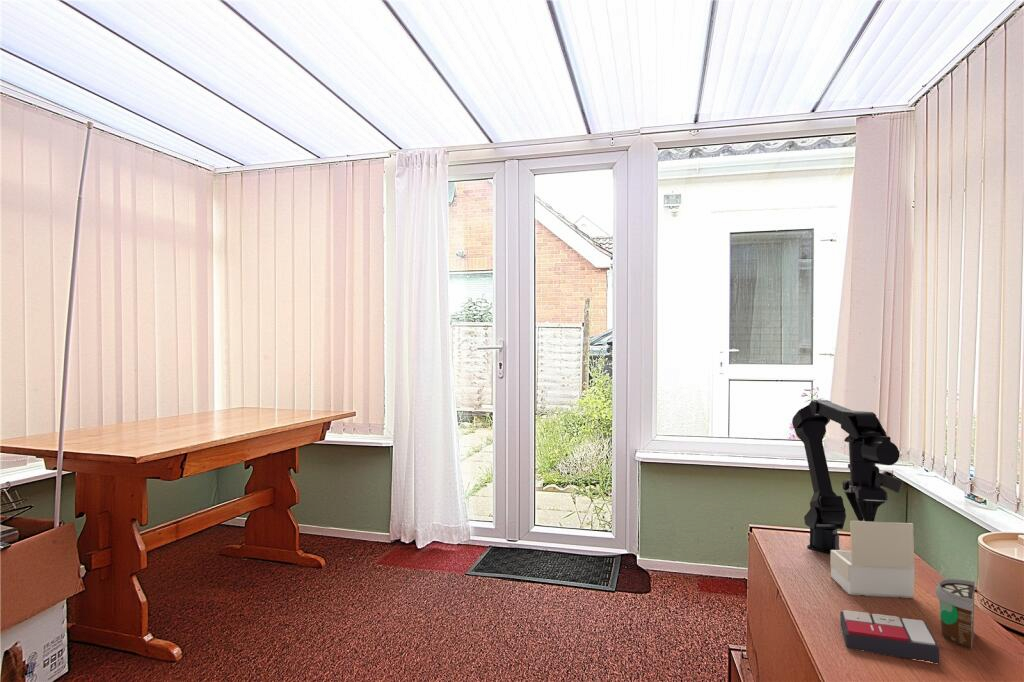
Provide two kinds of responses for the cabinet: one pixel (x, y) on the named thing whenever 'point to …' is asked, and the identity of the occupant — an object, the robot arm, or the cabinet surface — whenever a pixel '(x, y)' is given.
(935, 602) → the cabinet surface
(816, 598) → the cabinet surface
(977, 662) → the cabinet surface
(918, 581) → the cabinet surface
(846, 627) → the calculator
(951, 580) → the food container
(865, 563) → the carton flap
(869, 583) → the carton
